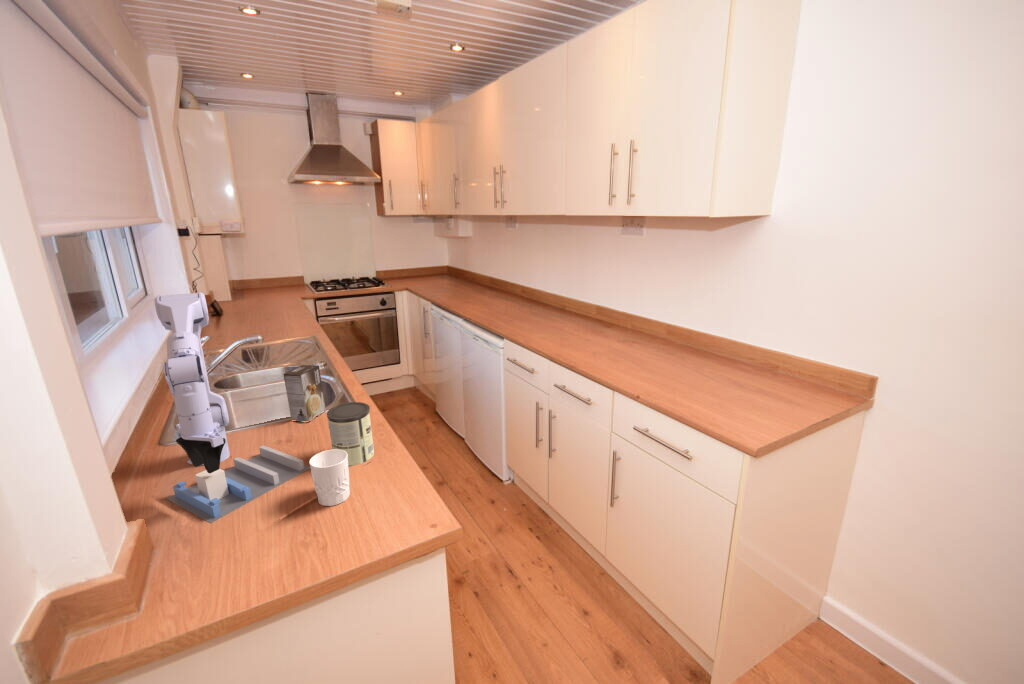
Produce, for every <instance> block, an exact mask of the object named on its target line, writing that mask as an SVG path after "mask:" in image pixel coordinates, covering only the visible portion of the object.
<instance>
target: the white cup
mask: <svg viewBox="0 0 1024 684" xmlns="http://www.w3.org/2000/svg"><path fill="white" fill-rule="evenodd" d="M308 464H309V467H310V472H311V478H312V483H313V487H314V491H315V493H316V497H317V501H318V504H320V505H321V506H324V507H325V506H326V507H332V506H337V505H340V504H341V503H344V502H345V501H346V500H348V499H349V497H350V494H351V491H350V471H349V467H350V466H348V454H347V452H346V451H344V450H340V449H327V450H323V451H321V452H318V453H316V454H315V455H312V457H311V458H310V459H309V462H308Z"/></svg>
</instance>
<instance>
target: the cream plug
mask: <svg viewBox="0 0 1024 684" xmlns="http://www.w3.org/2000/svg"><path fill="white" fill-rule="evenodd" d="M224 471H225V470H223V469H221V468H219V470H217V471H214V472H212V473H208V472H207V471H206V469H205V470H203V471H200V472H198V473H196V474H195V475H194V476H195V480H196V484H197V485H198V489H199V494H200V495H201V496H203V497H205V498H207V499H209V500H212V499H214V498H217V499H221V498H223V497H224V496H226V495H228V494H229V491H228V486H227V482H226V477H225V472H224Z"/></svg>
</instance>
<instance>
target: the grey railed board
mask: <svg viewBox="0 0 1024 684" xmlns="http://www.w3.org/2000/svg"><path fill="white" fill-rule="evenodd" d="M258 448H259V453H260V454H258V455H256V456H253V457H252V458H249V459H244V458H241V457H239V456H238V457H234V458H233V464H234V466H232V467H230V468H228V469H225V470H224V472H225V477H226V482H227V486H228V491H229V494H228V495H226V496H224V497H223V498H221V499H217V498H214V499H212V500H209V499H207V498H205V497H203V496H201V495H200V494H199V489H198V485H197V483H195V484H194V485H192V486H190V487H186V486H187V482H186V481H183V480H181V481H179V482H177V483H175V485H173V486H172V489H173V493H174V494H173V495H170V496H169V497H166V500H168V501H170V502H172V503H174V505H177V506H178V507H180V508H183V509H184V510H186V511H188V512H189V513H192V514H193V515H195V516H197V517H198V518H200V519H202V520H204V521H206V522H207V523H209V524H212V523H214V522H217V521H218V520H219V519H221V518H223V517H226V516H227V515H229V514H231V513H232V512H234V511H236V510H237V509H239V508H242V507H243V506H245V505H246V504H249V503H250V502H252V501H254V500H255V499H258V498H260V497H261V496H263V495H265V494H266V493H268V492H271V491H272V490H274V489H276V488H277V487H279V486H281V485H282V484H284V483H286V482H288V481H290V480H292V479H294V478H295V477H297V476H299V475H301V474H303V473H305V472H306V471H308V470H311V468H310V465H307V464H305V463H304V459H302V458H299V457H296V456H293V455H291V454H287V453H285V452H283V451H280V450H277V449H274V448H272V447H269V446H266V445H262V446H259V447H258Z"/></svg>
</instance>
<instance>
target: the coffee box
mask: <svg viewBox="0 0 1024 684" xmlns="http://www.w3.org/2000/svg"><path fill="white" fill-rule="evenodd" d="M283 379H284V384H285V391H286V392H285V393H286V396H287V397H286V398H287V402H288V407H289V414H290V419H291V420H296V421H310V420H311V419H313V418H314V417H315V416H317V415H318V414H319V413H321V412H322V411H324V410H326V403H325V398H324V391H323V384H322V378H321V371H320V365H311V364H302V365H299V366H296V367H295V368H293V369H291V370H289V371H287V372H285V373H283ZM326 411H327V410H326ZM291 420H290V421H291ZM313 420H314V419H313Z"/></svg>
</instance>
